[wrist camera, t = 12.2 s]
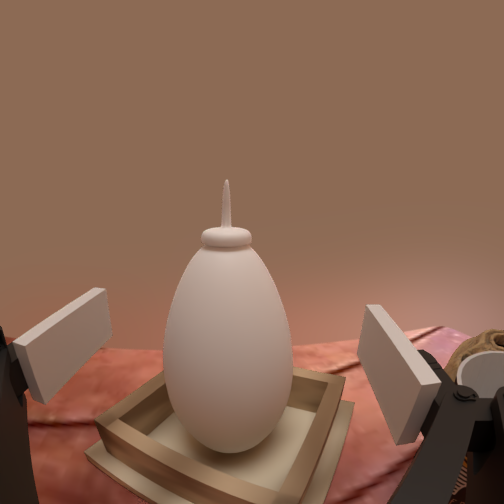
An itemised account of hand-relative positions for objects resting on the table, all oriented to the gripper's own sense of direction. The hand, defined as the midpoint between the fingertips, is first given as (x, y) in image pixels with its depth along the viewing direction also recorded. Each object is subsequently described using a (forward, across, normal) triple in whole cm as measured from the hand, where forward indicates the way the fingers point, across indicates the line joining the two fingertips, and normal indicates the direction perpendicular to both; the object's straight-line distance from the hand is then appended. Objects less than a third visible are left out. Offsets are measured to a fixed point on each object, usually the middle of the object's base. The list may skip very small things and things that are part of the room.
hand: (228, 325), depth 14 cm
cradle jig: (+3, 0, -12) cm, 13 cm away
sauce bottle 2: (+3, 0, -11) cm, 12 cm away
